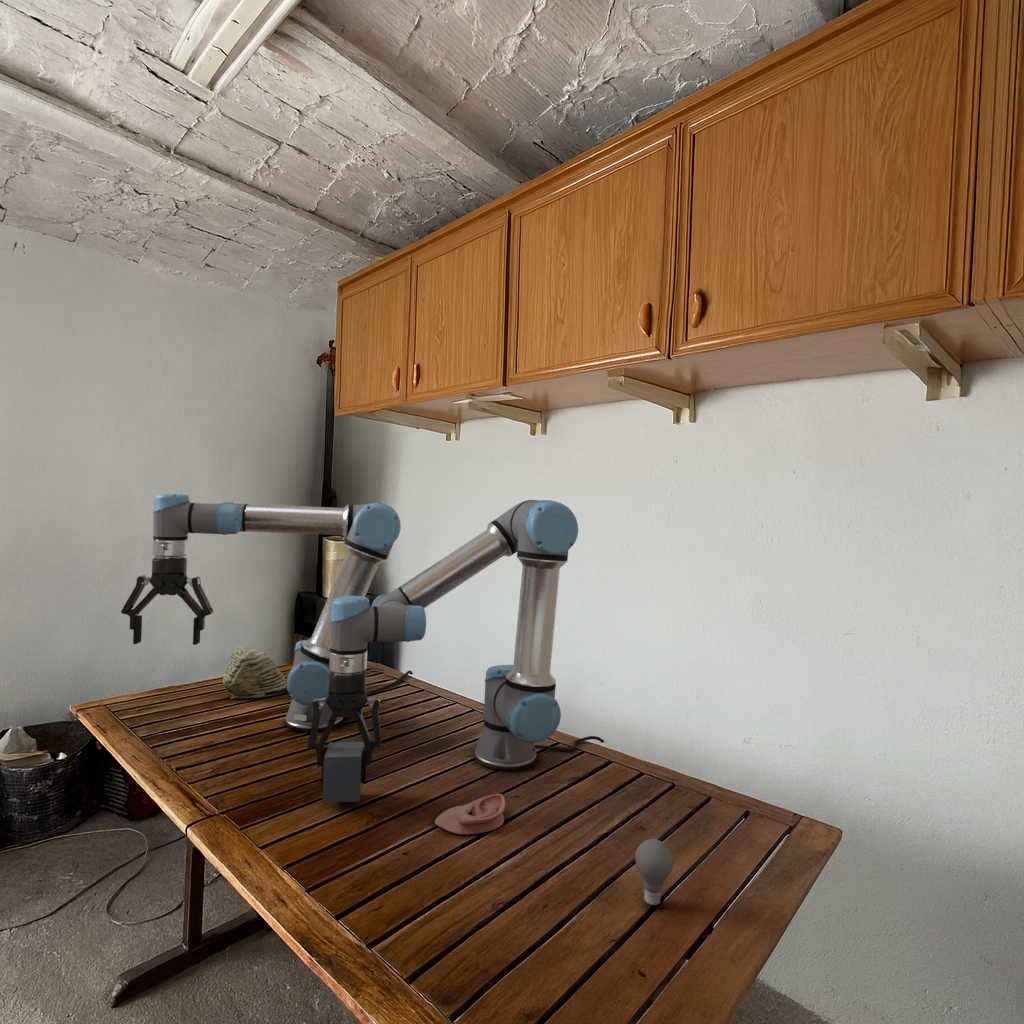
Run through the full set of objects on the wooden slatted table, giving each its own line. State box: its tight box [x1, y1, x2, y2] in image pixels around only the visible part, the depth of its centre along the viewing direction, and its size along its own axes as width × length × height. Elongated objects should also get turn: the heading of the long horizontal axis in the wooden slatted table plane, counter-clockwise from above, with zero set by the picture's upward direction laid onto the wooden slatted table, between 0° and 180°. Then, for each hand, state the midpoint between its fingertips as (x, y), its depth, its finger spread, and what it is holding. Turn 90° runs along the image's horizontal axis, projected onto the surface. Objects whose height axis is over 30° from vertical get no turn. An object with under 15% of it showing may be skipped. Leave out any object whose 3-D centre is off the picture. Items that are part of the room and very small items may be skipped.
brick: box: [322, 741, 365, 804], centre depth 132 cm, size 7×8×9 cm
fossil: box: [222, 646, 287, 699], centre depth 198 cm, size 9×18×15 cm, turn 132°
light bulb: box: [634, 838, 674, 906], centre depth 103 cm, size 6×6×10 cm
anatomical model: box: [434, 793, 506, 835], centre depth 126 cm, size 13×4×12 cm
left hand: (166, 643), depth 155 cm, fingers open, 13 cm apart
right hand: (343, 780), depth 132 cm, fingers closed on brick, 7 cm apart
